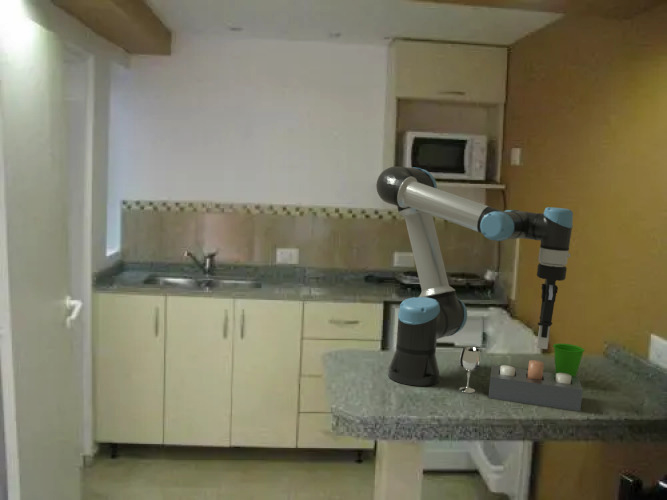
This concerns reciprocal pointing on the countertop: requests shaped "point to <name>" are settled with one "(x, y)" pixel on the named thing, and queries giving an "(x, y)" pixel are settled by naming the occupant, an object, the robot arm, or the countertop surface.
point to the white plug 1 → (507, 370)
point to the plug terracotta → (535, 369)
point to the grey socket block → (535, 389)
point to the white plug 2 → (563, 378)
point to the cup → (567, 358)
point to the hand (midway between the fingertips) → (542, 347)
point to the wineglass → (469, 364)
